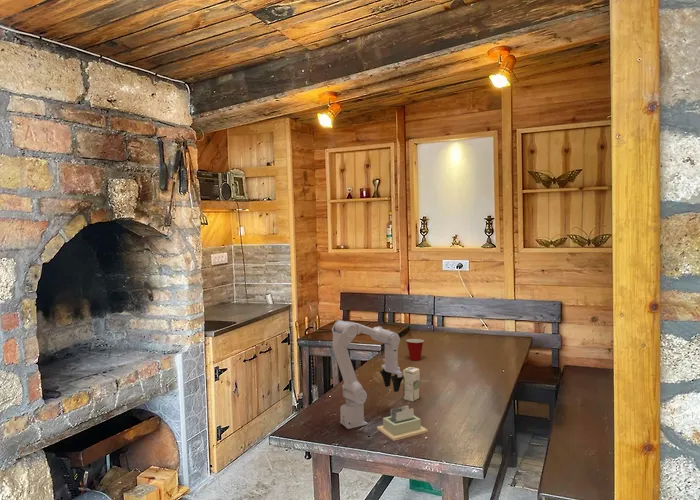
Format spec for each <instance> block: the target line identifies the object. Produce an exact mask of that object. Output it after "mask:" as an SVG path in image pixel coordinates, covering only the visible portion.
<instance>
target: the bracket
mask: <svg viewBox="0 0 700 500" xmlns="http://www.w3.org/2000/svg"><path fill="white" fill-rule="evenodd" d="M414 415H415V413H414V408H413V407H412V408H409V405H408V404H407V405H403V406H398V407H394V408H390V416H391V421H392V422H393V423H395V424H397V423H401V422H406V421H410V420H414Z"/></svg>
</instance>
